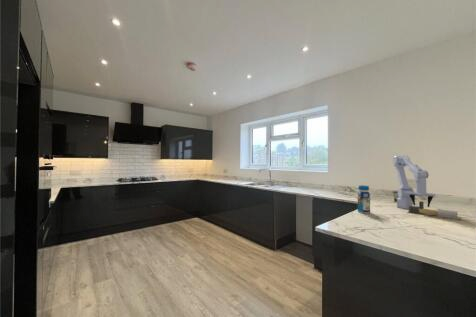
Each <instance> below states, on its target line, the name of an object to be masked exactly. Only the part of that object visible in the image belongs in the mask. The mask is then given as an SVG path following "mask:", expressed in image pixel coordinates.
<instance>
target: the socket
mask: <svg viewBox="0 0 476 317" xmlns="http://www.w3.org/2000/svg"><path fill="white" fill-rule="evenodd" d="M408 211H409V213H408V214H410V213H418V214H419V205H418V206H417V205H413V204H412V205H410V206H409V209H408Z"/></svg>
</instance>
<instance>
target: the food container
mask: <svg viewBox="0 0 476 317" xmlns="http://www.w3.org/2000/svg"><path fill="white" fill-rule="evenodd" d="M392 194H393V195H392V196H393V200H394V203H397V198H400V197H399V196H398V190H393V191H392Z"/></svg>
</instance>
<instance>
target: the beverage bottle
mask: <svg viewBox="0 0 476 317" xmlns="http://www.w3.org/2000/svg"><path fill="white" fill-rule="evenodd" d="M358 190H359V191H358V192H357V212H358V213H362V214H370V213H371V194H370V192H369V190H370V186H369V185H358Z"/></svg>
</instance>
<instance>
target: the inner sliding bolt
mask: <svg viewBox="0 0 476 317" xmlns="http://www.w3.org/2000/svg"><path fill="white" fill-rule="evenodd" d="M424 204H425V203H424V201H422V200H421V201H419V204H418V207H419V212H421V213H428V214H435V215H438V209H437V210H436V209H430V208H429V209H428V208H424V207H425V206H424Z"/></svg>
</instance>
